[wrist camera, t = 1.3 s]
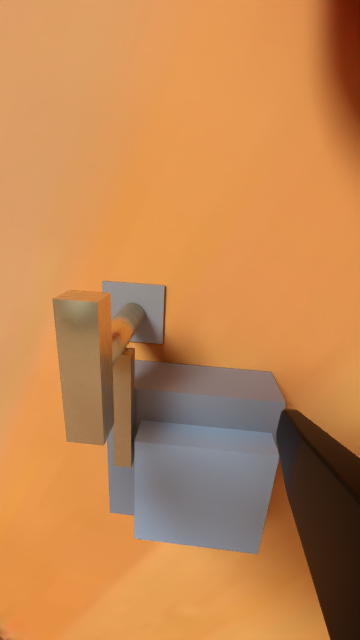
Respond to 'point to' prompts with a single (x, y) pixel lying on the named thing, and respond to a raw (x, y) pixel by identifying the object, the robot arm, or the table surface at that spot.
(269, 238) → the table surface
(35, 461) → the table surface
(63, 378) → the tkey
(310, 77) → the table surface
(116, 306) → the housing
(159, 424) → the cover
